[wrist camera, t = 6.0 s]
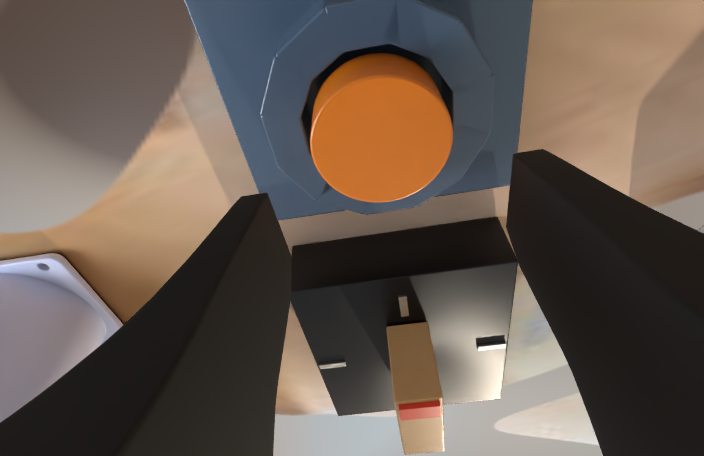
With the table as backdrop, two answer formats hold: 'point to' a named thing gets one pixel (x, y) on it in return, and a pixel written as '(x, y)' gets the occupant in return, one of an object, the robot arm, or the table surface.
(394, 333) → the tan rectangular block
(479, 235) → the control panel
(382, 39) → the button box
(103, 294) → the table surface
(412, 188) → the button
